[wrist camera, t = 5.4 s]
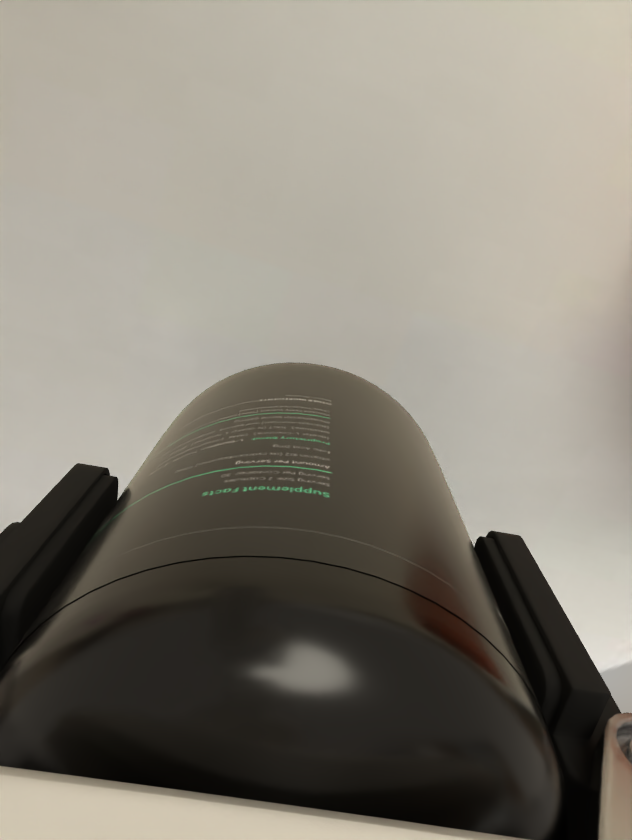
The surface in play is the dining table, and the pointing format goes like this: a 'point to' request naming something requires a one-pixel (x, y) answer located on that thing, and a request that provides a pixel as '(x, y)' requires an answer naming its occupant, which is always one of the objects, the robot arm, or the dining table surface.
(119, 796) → the robot arm
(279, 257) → the dining table surface
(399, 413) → the supplement bottle
